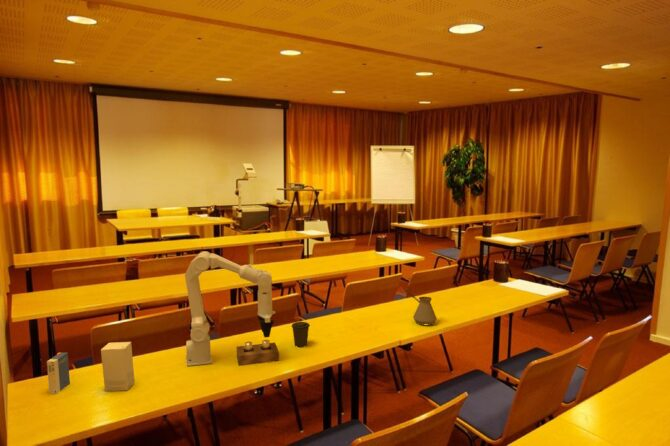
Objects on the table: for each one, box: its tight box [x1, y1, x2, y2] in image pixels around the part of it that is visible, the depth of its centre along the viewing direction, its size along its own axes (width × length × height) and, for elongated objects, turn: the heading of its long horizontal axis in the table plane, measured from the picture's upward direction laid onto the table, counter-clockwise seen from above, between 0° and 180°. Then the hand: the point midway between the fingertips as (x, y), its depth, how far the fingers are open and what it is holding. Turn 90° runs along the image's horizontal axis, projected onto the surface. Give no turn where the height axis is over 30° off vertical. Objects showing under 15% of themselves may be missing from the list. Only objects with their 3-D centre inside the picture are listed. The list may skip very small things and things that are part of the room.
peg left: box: [244, 341, 253, 352], centre depth 184 cm, size 3×3×4 cm
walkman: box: [46, 352, 71, 395], centre depth 159 cm, size 8×3×12 cm, turn 0°
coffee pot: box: [401, 287, 437, 325], centre depth 231 cm, size 21×12×15 cm, turn 37°
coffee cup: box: [291, 321, 311, 348], centre depth 199 cm, size 8×8×10 cm
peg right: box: [261, 339, 271, 350], centre depth 186 cm, size 3×3×4 cm
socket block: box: [236, 342, 280, 367], centre depth 185 cm, size 16×10×4 cm, turn 106°
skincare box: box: [100, 341, 135, 392], centre depth 160 cm, size 8×7×16 cm
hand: (265, 334), depth 185 cm, fingers open, 6 cm apart
